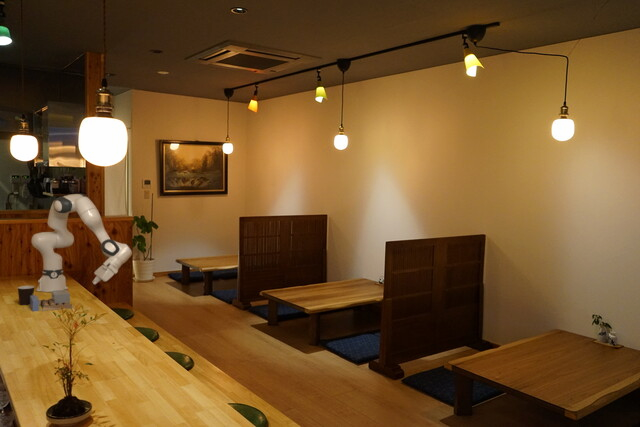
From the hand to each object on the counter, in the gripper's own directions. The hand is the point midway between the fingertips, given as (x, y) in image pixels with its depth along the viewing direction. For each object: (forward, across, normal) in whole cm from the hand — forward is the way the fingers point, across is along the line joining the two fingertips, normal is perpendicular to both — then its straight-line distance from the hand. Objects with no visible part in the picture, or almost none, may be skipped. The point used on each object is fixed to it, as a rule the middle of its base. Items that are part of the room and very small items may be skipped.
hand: (93, 283), depth 305 cm
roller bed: (+23, 0, -6) cm, 24 cm away
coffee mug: (+32, -14, -15) cm, 38 cm away
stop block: (+31, 0, -14) cm, 34 cm away
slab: (+19, 0, -6) cm, 20 cm away
